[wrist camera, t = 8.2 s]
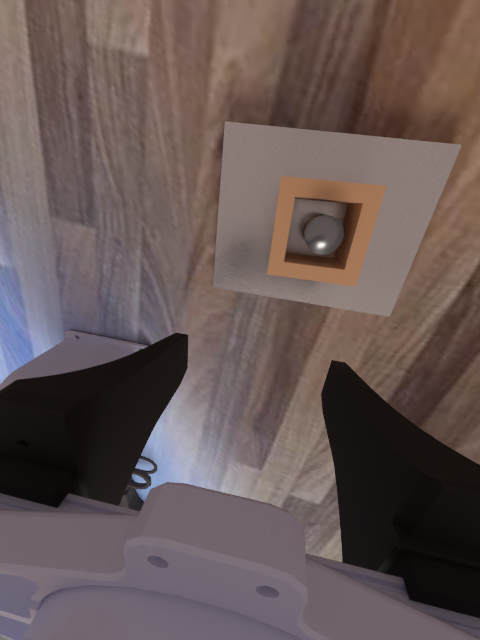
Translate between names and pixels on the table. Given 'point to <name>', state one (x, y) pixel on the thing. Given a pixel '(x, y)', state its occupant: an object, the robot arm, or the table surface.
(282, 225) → the ring
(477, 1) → the table surface
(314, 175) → the plate
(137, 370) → the robot arm
